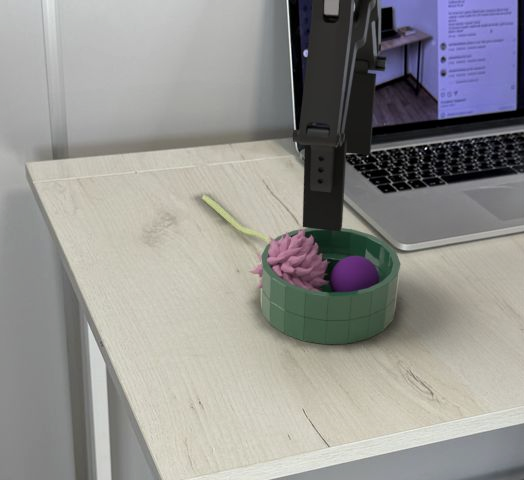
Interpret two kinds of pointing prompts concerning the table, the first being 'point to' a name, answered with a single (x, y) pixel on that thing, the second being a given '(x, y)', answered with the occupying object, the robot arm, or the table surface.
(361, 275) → the ball
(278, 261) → the artificial flower
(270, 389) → the table surface
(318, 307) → the bowl
